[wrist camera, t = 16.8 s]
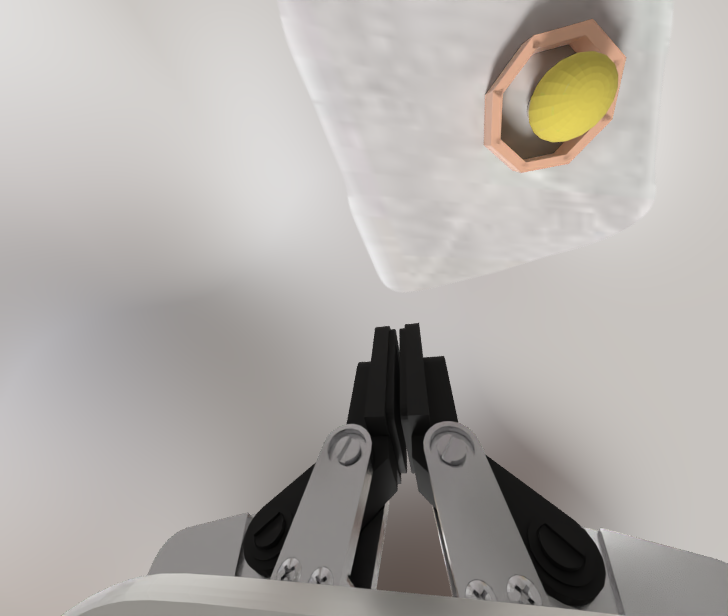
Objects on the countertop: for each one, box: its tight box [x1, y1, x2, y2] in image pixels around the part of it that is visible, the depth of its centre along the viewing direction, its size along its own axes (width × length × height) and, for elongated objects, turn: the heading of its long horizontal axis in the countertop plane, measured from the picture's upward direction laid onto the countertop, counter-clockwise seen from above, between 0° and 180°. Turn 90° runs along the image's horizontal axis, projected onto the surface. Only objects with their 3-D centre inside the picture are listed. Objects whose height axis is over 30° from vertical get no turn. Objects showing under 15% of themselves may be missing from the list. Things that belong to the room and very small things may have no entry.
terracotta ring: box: [484, 19, 626, 173], centre depth 29 cm, size 12×12×3 cm
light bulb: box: [527, 51, 618, 142], centre depth 26 cm, size 7×7×10 cm
